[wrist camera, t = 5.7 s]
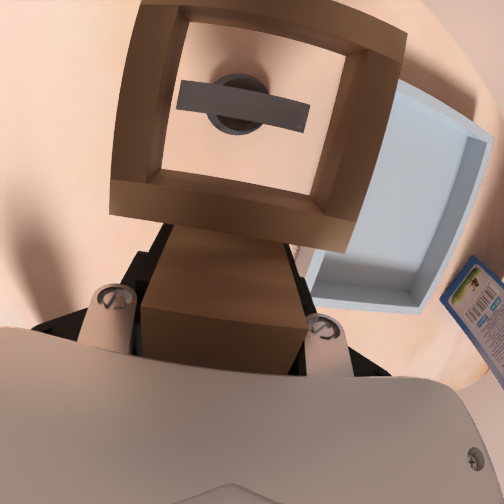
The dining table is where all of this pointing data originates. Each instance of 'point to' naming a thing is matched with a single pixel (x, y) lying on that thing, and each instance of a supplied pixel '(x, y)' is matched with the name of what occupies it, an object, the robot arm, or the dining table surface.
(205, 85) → the gray bar-topped pedestal
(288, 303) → the ring
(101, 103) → the dining table surface
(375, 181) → the tray
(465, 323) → the milk carton
